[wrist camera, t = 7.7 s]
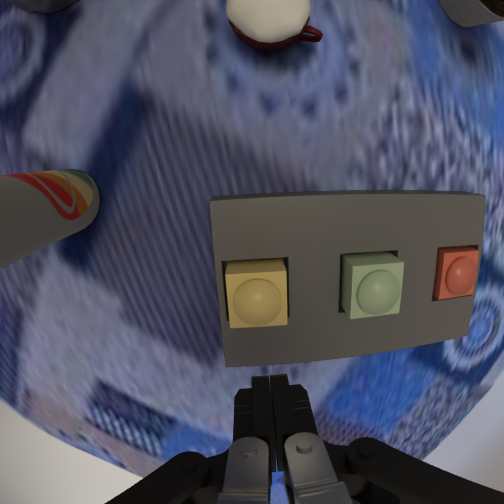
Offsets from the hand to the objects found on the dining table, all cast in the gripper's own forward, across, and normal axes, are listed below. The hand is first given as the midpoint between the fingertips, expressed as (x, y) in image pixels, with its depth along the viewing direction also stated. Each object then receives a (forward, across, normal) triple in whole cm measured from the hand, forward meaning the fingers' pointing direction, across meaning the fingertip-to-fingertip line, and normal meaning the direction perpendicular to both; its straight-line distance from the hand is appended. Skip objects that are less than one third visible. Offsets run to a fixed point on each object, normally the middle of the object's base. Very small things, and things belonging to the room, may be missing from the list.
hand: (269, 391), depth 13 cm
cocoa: (+16, -2, -22) cm, 27 cm away
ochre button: (+13, 0, 0) cm, 13 cm away
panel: (+16, -9, 0) cm, 18 cm away
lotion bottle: (+16, +16, -8) cm, 24 cm away
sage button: (+13, -9, 0) cm, 16 cm away
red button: (+15, -18, 0) cm, 23 cm away
